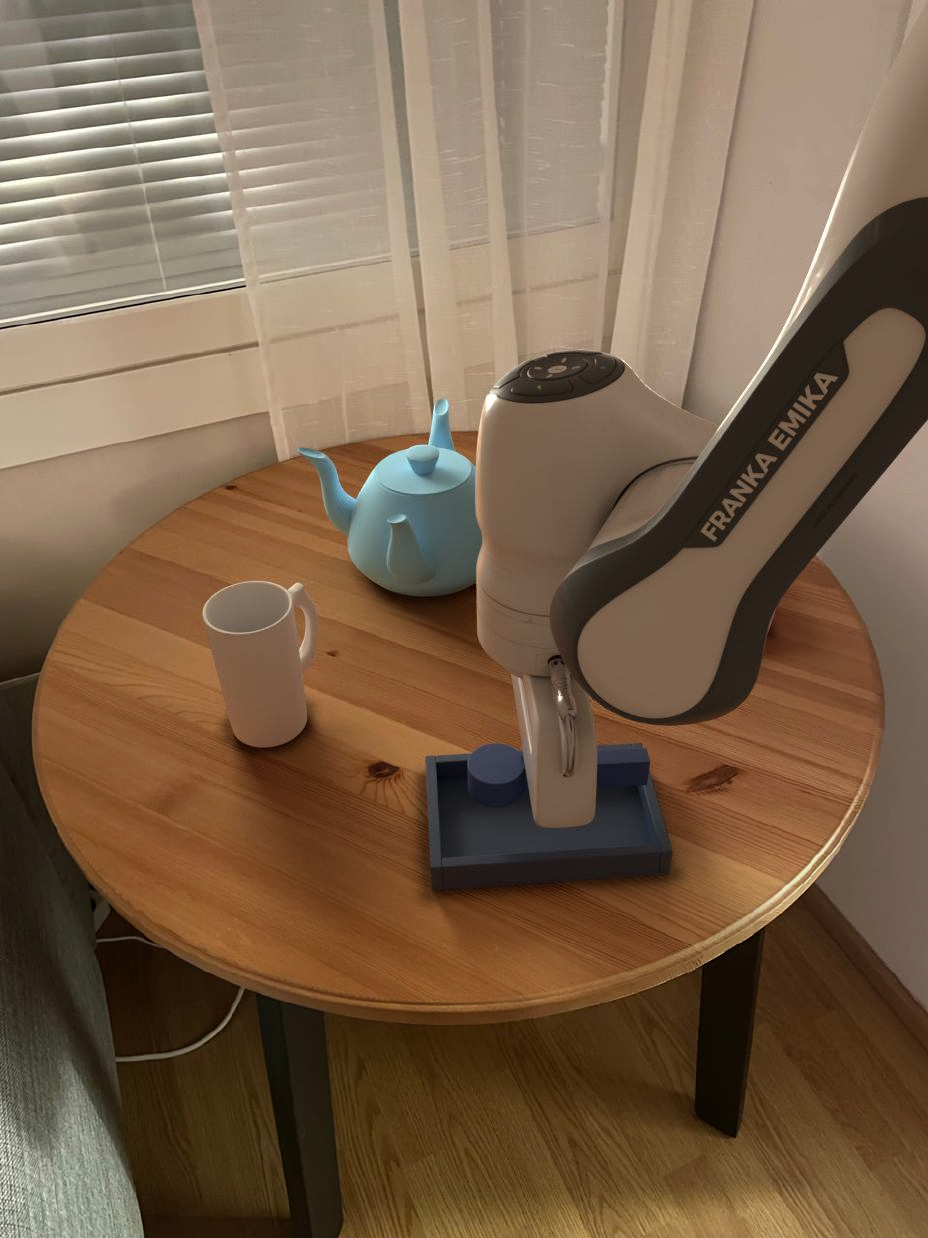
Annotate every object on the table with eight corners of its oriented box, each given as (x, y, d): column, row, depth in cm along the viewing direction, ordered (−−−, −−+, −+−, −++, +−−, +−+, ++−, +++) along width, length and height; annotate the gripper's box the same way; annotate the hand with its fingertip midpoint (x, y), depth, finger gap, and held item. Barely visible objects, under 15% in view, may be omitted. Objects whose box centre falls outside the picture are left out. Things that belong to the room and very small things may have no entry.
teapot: (303, 554, 103) (288, 447, 95) (447, 493, 112) (443, 391, 104) (401, 634, 92) (392, 520, 85) (551, 559, 101) (555, 450, 94)
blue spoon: (639, 758, 73) (642, 734, 72) (651, 799, 70) (654, 775, 69) (466, 768, 73) (465, 744, 71) (469, 809, 70) (469, 786, 68)
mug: (268, 763, 80) (244, 646, 72) (211, 728, 83) (183, 613, 75) (354, 694, 86) (340, 579, 78) (297, 664, 89) (279, 552, 82)
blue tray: (638, 765, 78) (641, 742, 77) (669, 875, 70) (673, 851, 69) (426, 778, 78) (425, 755, 76) (432, 891, 69) (430, 868, 68)
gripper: (631, 724, 54) (613, 886, 62) (574, 520, 70) (565, 671, 78) (514, 731, 54) (512, 892, 62) (484, 525, 70) (485, 675, 78)
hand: (541, 767), depth 70 cm, fingers closed on blue spoon, 1 cm apart
